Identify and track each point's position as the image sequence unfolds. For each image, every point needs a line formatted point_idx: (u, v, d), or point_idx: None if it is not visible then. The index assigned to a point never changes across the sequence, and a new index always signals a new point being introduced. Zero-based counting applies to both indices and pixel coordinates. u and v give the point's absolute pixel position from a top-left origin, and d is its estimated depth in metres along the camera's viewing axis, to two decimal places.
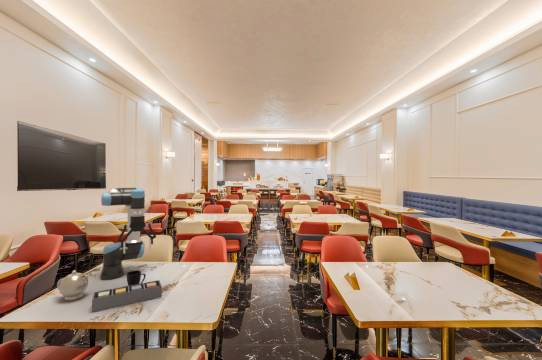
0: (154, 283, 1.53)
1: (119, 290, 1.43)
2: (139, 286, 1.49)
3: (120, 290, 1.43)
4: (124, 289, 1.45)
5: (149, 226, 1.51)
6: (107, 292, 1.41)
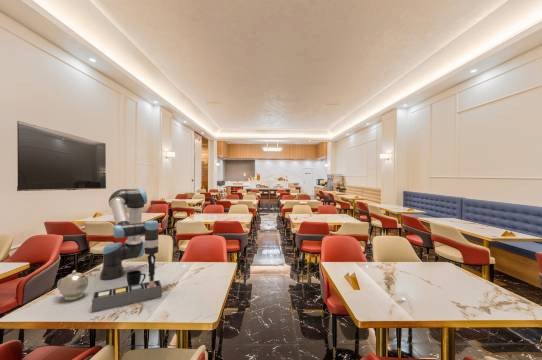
0: (154, 285, 1.53)
1: (119, 290, 1.43)
2: (139, 286, 1.49)
3: (120, 290, 1.43)
4: (124, 289, 1.45)
5: (150, 263, 1.47)
6: (107, 292, 1.41)
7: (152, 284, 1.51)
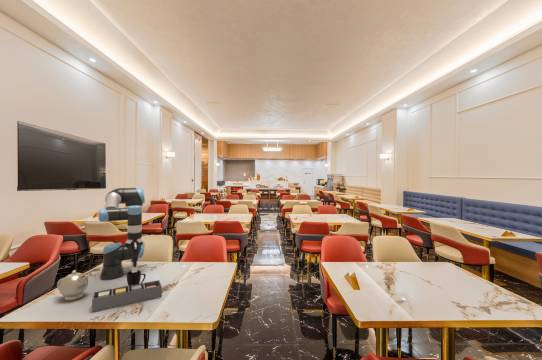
0: (154, 286, 1.53)
1: (119, 290, 1.43)
2: (139, 286, 1.49)
3: (120, 290, 1.43)
4: (124, 289, 1.45)
5: (133, 248, 1.43)
6: (107, 292, 1.41)
7: (135, 270, 1.47)
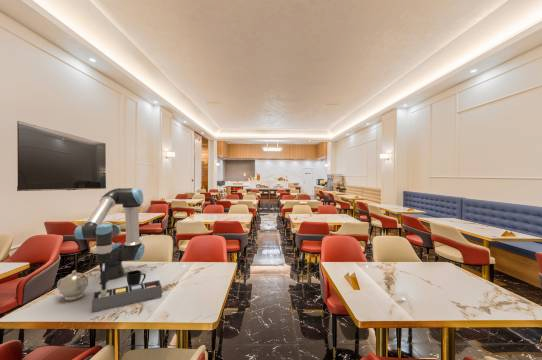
0: (154, 286, 1.53)
1: (119, 290, 1.43)
2: (139, 286, 1.49)
3: (120, 290, 1.43)
4: (124, 289, 1.45)
5: (100, 270, 1.35)
6: (107, 294, 1.41)
7: (104, 293, 1.39)
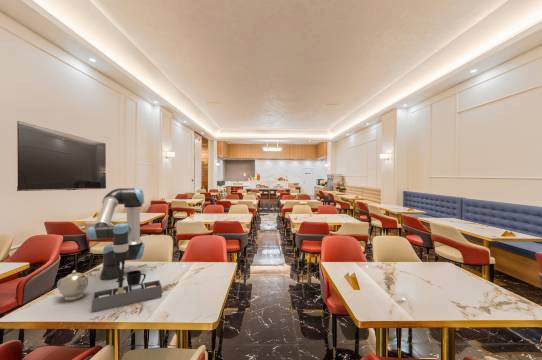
0: (154, 286, 1.53)
1: None
2: (139, 286, 1.49)
3: None
4: (124, 291, 1.45)
5: (118, 269, 1.39)
6: (107, 295, 1.41)
7: (121, 291, 1.43)
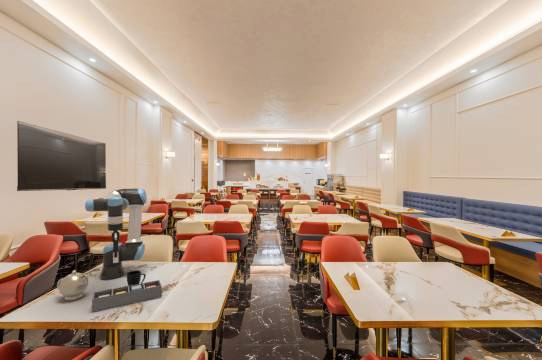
0: (154, 286, 1.53)
1: (119, 293, 1.43)
2: (139, 286, 1.49)
3: None
4: (124, 292, 1.45)
5: (113, 239, 1.44)
6: (107, 295, 1.41)
7: (116, 261, 1.49)
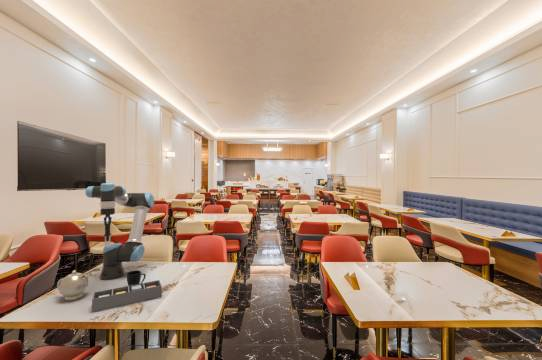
0: (154, 286, 1.53)
1: (119, 293, 1.43)
2: (139, 286, 1.49)
3: None
4: (124, 292, 1.45)
5: (105, 223, 1.51)
6: (107, 295, 1.41)
7: (108, 244, 1.55)
